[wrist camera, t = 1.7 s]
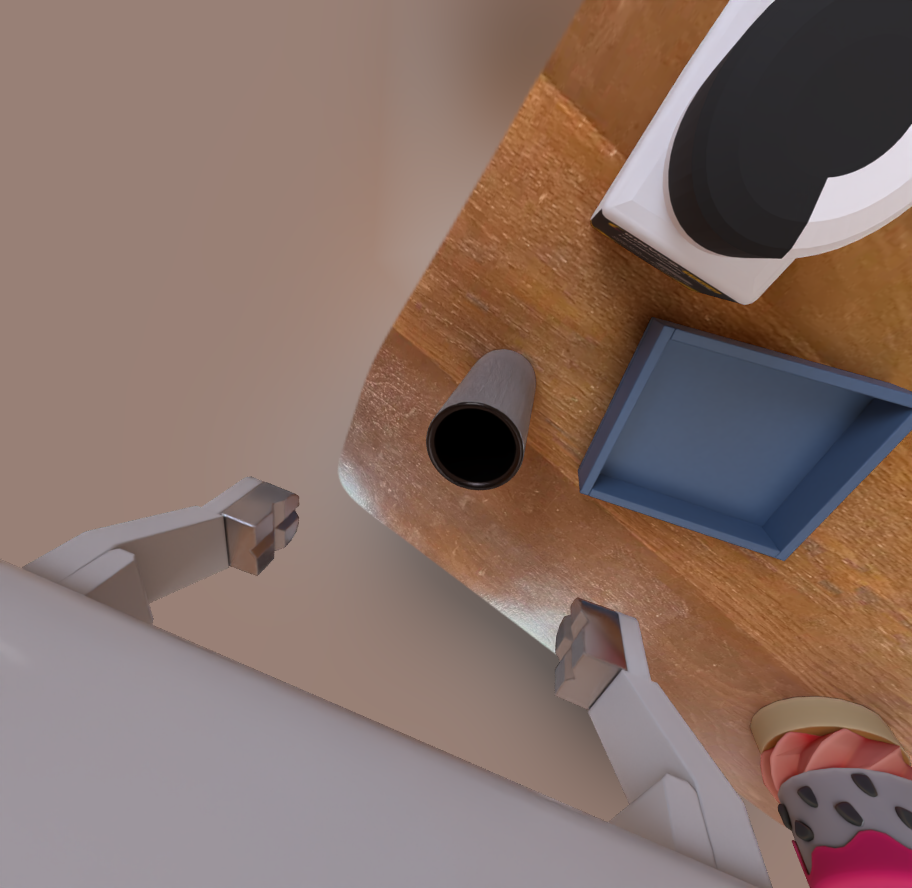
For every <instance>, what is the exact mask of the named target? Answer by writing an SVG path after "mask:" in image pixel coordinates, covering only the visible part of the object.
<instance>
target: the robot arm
mask: <svg viewBox="0 0 912 888" xmlns="http://www.w3.org/2000/svg"><path fill="white" fill-rule="evenodd" d="M298 506H299V496H298V495H296V494H294V493H292V492H290V491H287V490H284V489H282V488H279V487H277V486H275V485H272V484H269V483H267V482H263V481H261V480H258V479H256V478H254V477H246V478H243V479H242V480H241V481H239V482H238V483H236V484H235V485H234V486H232V487H231V488H229V489H227V490H226V491H225V492H223V493H222V494H220V495H219V496H217V497H216V498H214V499H213V500H212V501H210V502H209V503H207V504H205V505H204V506H203V507H199V506H193V507H189V508H184V509H180V510H176V511H171V512H167V513H163V514H159V515H154V516H150V517H146V518H142V519H137V520H133V521H128V522H124V523H120V524H116V525H111V526H107V527H103V528H98V529H94V530H90V531H86V532H83V533H82V534H80V535H78V536H76V537H75V538H73V539H71V540H69V541H68V542H66V543H64V544H62V545H60V546H59V547H57V548H55V549H54V550H52V551H50V552H48V553H46V554H45V555H43V556H41V557H39V558H38V559H36V560H34V561H33V562H31V563H29V564H27V565H25V566H24V567H22V568H20V567H18V566H15V565H13V564H11V563H8V562H6V561H4V560H1V559H0V888H773V887H772V884H771V882H770V879H769V876H768V872H767V870H766V866H765V864H764V861H763V858H762V855H761V852H760V849H759V846H758V843H757V840H756V837H755V834H754V831H753V828H752V825H751V822H750V819H749V816H748V813H747V810H746V807H745V804H744V802H743V801H742V799H741V798H740V797H739V795H738V794H737V792H736V791H735V790H734V788H733V787H732V786H731V784H730V783H729V781H728V780H727V779H726V777H725V776H724V774H723V773H722V772H721V770H720V769H719V768H718V766H717V765H716V763H715V762H714V761H713V759H712V758H711V756H710V755H709V754H708V752H707V751H706V750H705V748H704V747H703V745H702V744H701V743H700V741H699V740H698V738H697V737H696V736H695V734H694V733H693V732H692V730H691V729H690V727H689V726H688V725H687V723H686V722H685V720H684V719H683V718H682V716H681V715H680V714H679V712H678V711H677V709H676V708H675V707H674V705H673V704H672V703H671V701H670V700H669V698H668V697H667V696H666V694H665V693H664V691H663V690H662V689H661V687H660V686H659V685H658V683H656V682H653V681H651V677H650V672H649V668H648V663H647V659H646V654H645V650H644V645H643V641H642V636H641V632H640V627H639V623H638V621H637V619H636V618H634V617H631V616H628V615H626V614H623V613H620V612H617V611H614V610H612V609H609V608H606V607H603V606H600V605H598V604H595V603H592V602H589V601H586V600H584V599H581V598H576V599H575V600H574V601H573V603H572V605H571V615H568V616H565V617H564V618H563V620H562V622H561V624H560V626H559V629H558V633H557V637H556V649H555V653H556V655H557V656H558V658H559V660H560V662H559V664H558V665H557V667H556V669H555V696H557V697H559V698H562V699H564V700H566V701H569V702H571V703H573V704H576V705H578V706H580V707H582V708H585V709H587V710H589V711H588V713H589V715H590V718H591V720H592V722H593V724H594V727H595V729H596V731H597V733H598V735H599V738H600V740H601V742H602V745H603V747H604V749H605V751H606V753H607V756H608V758H609V760H610V762H611V765H612V767H613V769H614V771H615V774H616V776H617V778H618V780H619V782H620V785H621V787H622V789H623V791H624V794H625V796H626V798H627V800H628V803H629V805H628V806H627V807H626V808H625V809H623V810H622V811H621V812H620V813H618V814H617V815H616V816H615V817H614V818H613V819H611V820H610V821H609V822H606V821H604V820H602V819H599V818H597V817H595V816H592V815H590V814H588V813H585V812H583V811H581V810H579V809H576V808H574V807H571V806H569V805H567V804H565V803H562V802H560V801H557V800H555V799H553V798H551V797H548V796H546V795H544V794H542V793H539V792H537V791H535V790H532V789H530V788H528V787H525V786H523V785H521V784H518V783H516V782H514V781H511V780H509V779H507V778H505V777H502V776H500V775H498V774H495V773H493V772H491V771H488V770H486V769H484V768H482V767H479V766H477V765H474V764H472V763H470V762H467V761H465V760H463V759H461V758H459V757H456V756H454V755H452V754H449V753H447V752H445V751H442V750H440V749H438V748H435V747H433V746H431V745H429V744H426V743H424V742H422V741H419V740H417V739H415V738H412V737H410V736H408V735H405V734H403V733H401V732H399V731H396V730H394V729H392V728H389V727H387V726H385V725H383V724H380V723H378V722H376V721H373V720H371V719H369V718H366V717H364V716H362V715H359V714H357V713H355V712H352V711H350V710H348V709H346V708H343V707H341V706H339V705H336V704H334V703H332V702H329V701H327V700H325V699H322V698H320V697H318V696H316V695H313V694H311V693H309V692H306V691H304V690H302V689H299V688H297V687H295V686H292V685H290V684H288V683H286V682H283V681H281V680H279V679H276V678H274V677H272V676H269V675H267V674H264V673H262V672H260V671H258V670H255V669H253V668H251V667H249V666H246V665H244V664H241V663H239V662H237V661H235V660H232V659H230V658H228V657H225V656H223V655H221V654H219V653H216V652H214V651H212V650H209V649H207V648H205V647H202V646H200V645H198V644H195V643H193V642H191V641H189V640H186V639H184V638H182V637H179V636H177V635H175V634H172V633H170V632H168V631H165V630H163V629H161V628H158V627H156V626H154V625H152V623H153V616H152V612H151V609H150V606H149V603H151V602H153V601H156V600H158V599H160V598H162V597H164V596H167V595H169V594H171V593H173V592H175V591H178V590H180V589H182V588H185V587H187V586H189V585H191V584H193V583H196V582H198V581H200V580H202V579H205V578H207V577H209V576H211V575H213V574H216V573H218V572H220V571H222V570H224V569H227V568H229V566H231V567H234V568H236V569H239V570H242V571H245V572H248V573H250V574H253V575H256V576H258V575H259V574H260V573H261V572H262V571H263V570H264V569H265V568H266V566H268V564H269V563H270V562H271V561H272V560H273V559H274V551H276V550H279V549H282V548H285V547H286V546H287V545H288V543H289V542H290V541H291V540H292V538H293V536H294V535H295V533H296V531H297V528H298V524H299V517H298V515H297V513H296V511H295V509H296V508H297V507H298Z"/></svg>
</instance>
